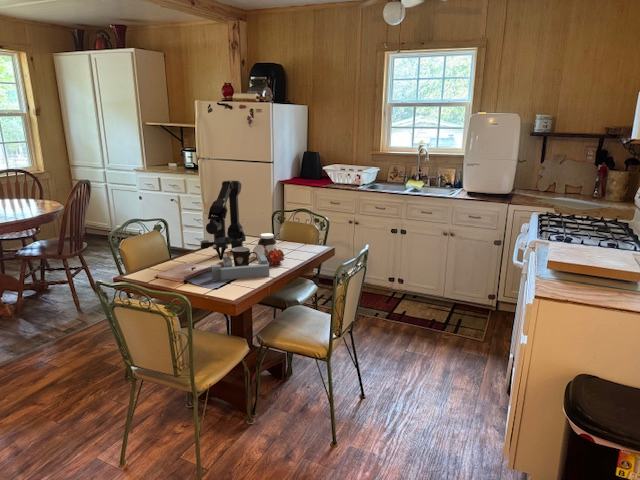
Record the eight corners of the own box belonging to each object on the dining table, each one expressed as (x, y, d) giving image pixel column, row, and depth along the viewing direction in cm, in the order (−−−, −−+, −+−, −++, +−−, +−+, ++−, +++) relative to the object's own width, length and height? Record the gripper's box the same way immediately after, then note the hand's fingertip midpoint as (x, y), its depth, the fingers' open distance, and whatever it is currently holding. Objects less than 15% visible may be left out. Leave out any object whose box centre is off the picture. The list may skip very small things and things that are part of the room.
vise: (210, 271, 216) (210, 258, 214) (264, 267, 223) (264, 254, 221) (212, 281, 203) (211, 267, 201) (269, 276, 210) (269, 262, 208)
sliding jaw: (221, 260, 232) (221, 248, 230) (228, 260, 233) (227, 248, 231) (225, 276, 208) (224, 262, 207) (233, 275, 209) (232, 262, 208)
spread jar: (278, 253, 246) (277, 233, 243) (273, 259, 235) (273, 238, 232) (256, 253, 247) (255, 232, 244) (251, 259, 236) (250, 237, 233)
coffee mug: (229, 269, 218) (228, 250, 216) (240, 265, 226) (239, 245, 223) (248, 273, 213) (247, 253, 210) (259, 268, 220) (258, 249, 218)
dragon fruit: (283, 263, 233) (271, 273, 224) (271, 253, 235) (258, 262, 225) (290, 253, 229) (278, 262, 219) (278, 242, 230) (265, 251, 220)
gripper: (200, 234, 210) (202, 266, 214) (240, 232, 215) (241, 263, 219) (199, 229, 220) (201, 259, 224) (237, 227, 225) (239, 256, 229)
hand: (221, 260), depth 224 cm, fingers closed
